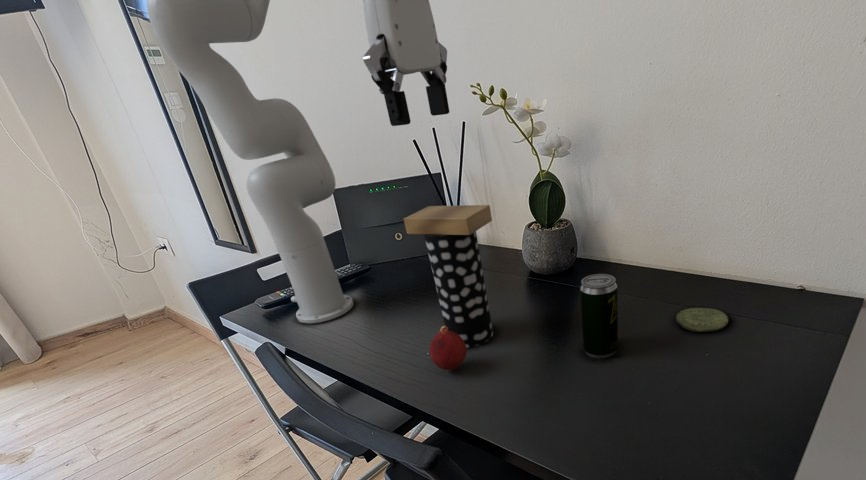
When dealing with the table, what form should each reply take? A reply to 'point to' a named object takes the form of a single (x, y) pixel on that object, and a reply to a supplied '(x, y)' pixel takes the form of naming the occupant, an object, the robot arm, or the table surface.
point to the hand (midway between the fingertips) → (421, 119)
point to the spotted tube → (460, 286)
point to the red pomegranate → (447, 349)
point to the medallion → (702, 319)
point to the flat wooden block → (448, 220)
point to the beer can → (599, 315)
